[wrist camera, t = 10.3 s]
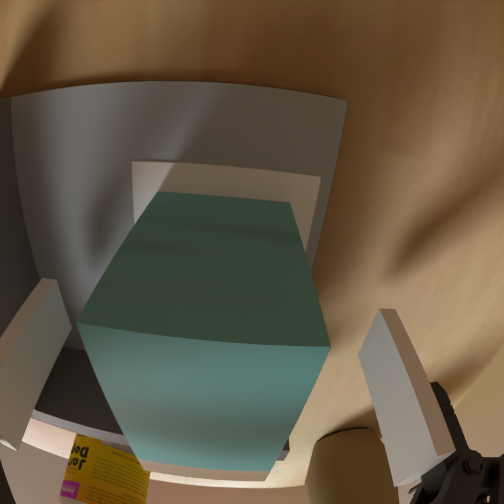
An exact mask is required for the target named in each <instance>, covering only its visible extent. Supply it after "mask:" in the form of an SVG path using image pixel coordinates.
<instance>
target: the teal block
mask: <svg viewBox="0 0 504 504" xmlns="http://www.w3.org/2000/svg"><path fill="white" fill-rule="evenodd" d="M76 324H77V327H78V330H79V333H80V335H81V338H82V341H83V344H84V346H85V349H86V352H87V354H88V357H89V359H90V362H91V365H92V367H93V369H94V372H95V374H96V377H97V379H98V381H99V384H100V386H101V388H102V390H103V393H104V395H105V397H106V399H107V401H108V404H109V406H110V408H111V410H112V412H113V414H114V416H115V418H116V420H117V422H118V424H119V426H120V428H121V430H122V432H123V434H124V436H125V437H126V439H127V441H128V443H129V445H130V447H131V448H132V450H133V452H134V454H135V455H136V457H137V459H138V461H139V462H140V464H141V466H142V467H143V469H144V470H146V471H151V472H157V473H163V474H170V475H177V476H185V477H194V478H203V479H215V480H232V481H265V480H266V478H267V476H268V474H269V473H270V471H271V469H272V467H273V466H274V464H275V462H276V460H277V458H278V457H279V455H280V453H281V451H282V449H283V447H284V445H285V443H286V442H287V440H288V438H289V436H290V434H291V432H292V430H293V428H294V426H295V424H296V422H297V420H298V418H299V416H300V414H301V412H302V410H303V408H304V406H305V404H306V402H307V399H308V397H309V395H310V393H311V391H312V389H313V387H314V384H315V382H316V380H317V378H318V375H319V373H320V371H321V369H322V366H323V364H324V362H325V359H326V357H327V355H328V352H329V350H330V348H331V346H330V342H329V338H328V334H327V330H326V326H325V322H324V319H323V315H322V311H321V307H320V304H319V300H318V296H317V293H316V289H315V285H314V282H313V278H312V275H311V271H310V268H309V264H308V261H307V257H306V254H305V250H304V247H303V244H302V240H301V237H300V233H299V230H298V227H297V224H296V220H295V217H294V214H293V211H292V207H291V204H290V203H288V202H279V201H269V200H260V199H249V198H239V197H228V196H216V195H203V194H190V193H176V192H160V191H157V193H156V194H155V195H154V197H153V198H152V200H151V201H150V203H149V204H148V205H147V207H146V208H145V210H144V211H143V213H142V214H141V216H140V217H139V219H138V220H137V221H136V223H135V224H134V226H133V227H132V229H131V230H130V232H129V234H128V235H127V237H126V238H125V240H124V241H123V243H122V244H121V246H120V247H119V249H118V251H117V252H116V254H115V255H114V257H113V259H112V260H111V262H110V263H109V265H108V267H107V268H106V270H105V272H104V273H103V275H102V277H101V278H100V280H99V282H98V283H97V285H96V287H95V289H94V290H93V292H92V294H91V296H90V297H89V299H88V301H87V303H86V304H85V306H84V308H83V310H82V312H81V313H80V315H79V317H78V319H77V321H76Z"/></svg>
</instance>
